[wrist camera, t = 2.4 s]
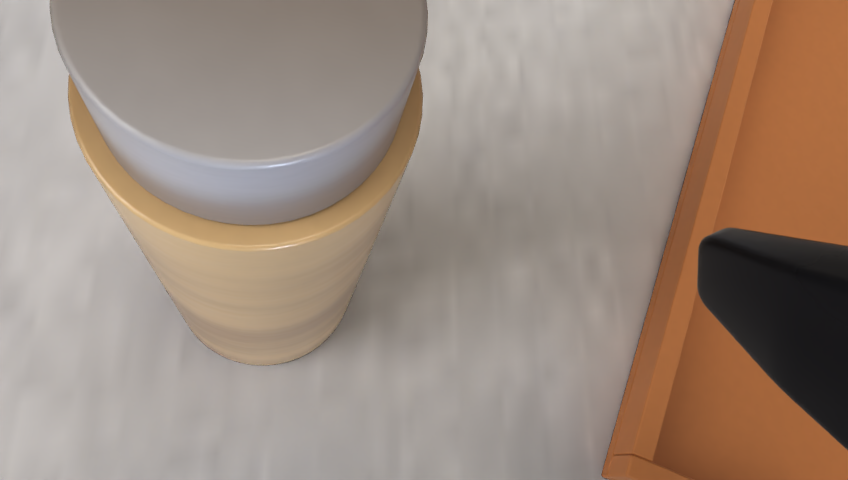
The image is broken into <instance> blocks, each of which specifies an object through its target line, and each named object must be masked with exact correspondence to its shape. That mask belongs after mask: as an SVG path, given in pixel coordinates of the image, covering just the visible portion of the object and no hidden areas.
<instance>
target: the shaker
mask: <svg viewBox="0 0 848 480" xmlns="http://www.w3.org/2000/svg"><path fill="white" fill-rule="evenodd" d="M50 14H51V22H52V30H53V33H54V37H55V40H56V44H57V47H58V51H59V53H60V55H61V58H62V60H63V62H64V64H65V66H66V68H67V70H68V73H69V80H68V101H69V109H70V117H71V122H72V125H73V129H74V132H75V136H76V139H77V142H78V144H79V146H80V148H81V150H82V153H83V155H84V157H85V159H86V161H87V163H88V164H89V166H90V168H91V169H92V171H93V172H94V174H95V176H96V177H97V179H98V181H99V182H100V184H101V185H102V187H103V189H104V190H105V192H106V193H107V195H108V197H109V198H110V200H111V202H112V203H113V205H114V206H115V208H116V210H117V211H118V213H119V214H120V216H121V218H122V219H123V221H124V223H125V224H126V226H127V227H128V229H129V231H130V232H131V234H132V236H133V237H134V239H135V240H136V242H137V244H138V245H139V247H140V248H141V250H142V252H143V253H144V255H145V257H146V258H147V260H148V261H149V263H150V265H151V266H152V268H153V269H154V271H155V273H156V274H157V276H158V278H159V279H160V281H161V282H162V284H163V286H164V287H165V289H166V291H167V292H168V294H169V295H170V297H171V299H172V300H173V302H174V303H175V305H176V307H177V308H178V310H179V312H180V313H181V315H182V316H183V318H184V320H185V321H186V323H187V324H188V326H189V327H190V329H191V331H192V332H193V333H194V334H195V335H196V336H197V338H198V339H199V340H200V341H201V342H203V343H204V344H205V345H206V346H207V347H208V348H210V349H211V350H213V351H214V352H216V353H217V354H219V355H221V356H223V357H226V358H228V359H230V360H233V361H236V362H239V363H244V364H250V365H276V364H280V363H285V362H289V361H292V360H295V359H298V358H300V357H302V356H304V355H306V354H308V353H310V352H311V351H312V350H314V349H315V348H317V347H318V346H320V345H321V344H322V343H323V342H324V341H325V340H326V339H327V338H328V337H329V336H330V335H331V334H332V333H333V332H334V330H335V329H336V327H337V326H338V325H339V323H340V322H341V320H342V318H343V316H344V314H345V312H346V309H347V307H348V304H349V302H350V300H351V297H352V295H353V293H354V290H355V288H356V285H357V283H358V281H359V278H360V276H361V274H362V271H363V269H364V267H365V264H366V262H367V259H368V257H369V255H370V252H371V250H372V248H373V245H374V243H375V240H376V238H377V236H378V233H379V231H380V229H381V226H382V224H383V222H384V219H385V217H386V214H387V212H388V210H389V207H390V205H391V203H392V200H393V198H394V195H395V193H396V191H397V188H398V186H399V184H400V181H401V179H402V177H403V174H404V172H405V169H406V167H407V165H408V162H409V160H410V158H411V155H412V153H413V150H414V147H415V144H416V141H417V138H418V135H419V130H420V124H421V118H422V105H423V92H422V83H421V75H420V71H419V65H420V62H421V59H422V56H423V53H424V48H425V42H426V37H427V23H428V10H427V2H426V0H50Z"/></svg>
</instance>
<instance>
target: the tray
mask: <svg viewBox="0 0 848 480" xmlns="http://www.w3.org/2000/svg"><path fill="white" fill-rule="evenodd" d="M728 227H732V228H739V229H746V230H752V231H758V232H764V233H770V234H777V235H783V236H789V237H795V238H801V239H808V240H814V241H820V242H826V243H833V244H839V245H845V246H848V0H735V2H734V6H733V9H732V13H731V16H730V20H729V24H728V27H727V31H726V34H725V38H724V41H723V45H722V48H721V52H720V56H719V59H718V63H717V66H716V70H715V73H714V77H713V80H712V84H711V88H710V91H709V95H708V98H707V102H706V105H705V109H704V112H703V116H702V119H701V123H700V127H699V130H698V134H697V137H696V141H695V144H694V148H693V151H692V155H691V159H690V162H689V166H688V169H687V173H686V176H685V180H684V183H683V187H682V191H681V194H680V198H679V201H678V205H677V208H676V212H675V215H674V219H673V222H672V226H671V230H670V233H669V237H668V240H667V244H666V247H665V251H664V254H663V258H662V262H661V265H660V269H659V272H658V276H657V279H656V283H655V286H654V290H653V294H652V297H651V301H650V304H649V308H648V311H647V315H646V318H645V322H644V325H643V329H642V333H641V336H640V340H639V343H638V347H637V350H636V354H635V357H634V361H633V365H632V368H631V372H630V375H629V379H628V382H627V386H626V389H625V393H624V397H623V400H622V404H621V407H620V411H619V414H618V418H617V421H616V425H615V428H614V432H613V436H612V439H611V443H610V446H609V450H608V453H607V457H606V460H605V464H604V468H603V471H602V477H604V478H607V479H609V480H848V450H847V449H845V448H844V447H843V446H842V445H841V444H840V443H839V442H838V441H837V440H836V439H835V438H833V437H832V436H831V435H830V434H829V433H828V432H827V431H826V430H825V429H824V428H822V427H821V426H820V425H819V424H818V423H817V422H816V421H815V420H814V419H813V418H812V417H810V416H809V415H808V414H807V413H806V412H805V411H804V410H803V409H802V408H801V407H799V406H798V405H797V404H796V403H795V402H794V401H793V400H792V399H791V398H790V397H789V396H788V395H787V394H786V393H785V392H783V391H782V390H781V389H780V388H779V387H778V386H777V385H776V384H775V383H774V381H773V380H772V379H771V378H770V377H769V376H768V375H767V374H766V373H765V372H764V371H763V370H762V369H761V368H760V366H759V365H758V364H757V363H756V362H755V361H754V360H753V359H752V357H751V356H750V355H749V354H748V353H747V352H746V351H745V350H744V349H743V347H742V346H741V345H740V344H739V343H738V342H737V341H736V340H735V339H734V337H733V336H732V335H731V334H730V333H729V332H728V331H727V330H726V329H725V327H724V326H723V325H722V324H721V323H720V322H719V321H718V320H717V319H716V317H715V316H714V315H713V314H712V313H711V312H710V311H709V310H708V309H707V307H706V306H705V305H704V304H703V302H702V300H701V299H700V296H699V294H698V290H697V273H698V248H699V244H700V242H701V240H702V239H703V238H704V237H706V236H708V235H710V234H712V233H715V232H717V231H719V230H721V229H724V228H728Z"/></svg>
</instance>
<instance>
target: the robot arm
mask: <svg viewBox="0 0 848 480" xmlns="http://www.w3.org/2000/svg"><path fill="white" fill-rule="evenodd" d="M697 290H698V294H699V296H700V299H701V300H702V302H703V304H704V305H705V306H706V307H707V309H708V310H709V311H710V312H711V313H712V314H713V315H714V316H715V317H716V319H717V320H718V321H719V322H720V323H721V324H722V325H723V326H724V327H725V329H726V330H727V331H728V332H729V333H730V334H731V335H732V336H733V337H734V339H735V340H736V341H737V342H738V343H739V344H740V345H741V346H742V347H743V349H744V350H745V351H746V352H747V353H748V354H749V355H750V356H751V357H752V359H753V360H754V361H755V362H756V363H757V364H758V365H759V366H760V368H761V369H762V370H763V371H764V372H765V373H766V374H767V375H768V376H769V377H770V378H771V379H772V380H773V381H774V383H775V384H776V385H777V386H778V387H779V388H780V389H781V390H782V391H783V392H785V393H786V394H787V395H788V396H789V397H790V398H791V399H792V400H793V401H794V402H795V403H796V404H797V405H798V406H799V407H801V408H802V409H803V410H804V411H805V412H806V413H807V414H808V415H809V416H810V417H812V418H813V419H814V420H815V421H816V422H817V423H818V424H819V425H820V426H821V427H822V428H824V429H825V430H826V431H827V432H828V433H829V434H830V435H831V436H832V437H833V438H835V439H836V440H837V441H838V442H839V443H840V444H841V445H842V446H843V447H844V448H845V449H847V450H848V246H845V245H839V244H833V243H826V242H820V241H814V240H808V239H801V238H795V237H789V236H783V235H777V234H770V233H764V232H758V231H752V230H746V229H739V228H732V227H728V228H724V229H721V230H719V231H717V232H715V233H712V234H710V235H708V236H706V237H704V238H703V239H702V240H701V242H700V244H699V248H698V273H697Z"/></svg>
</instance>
